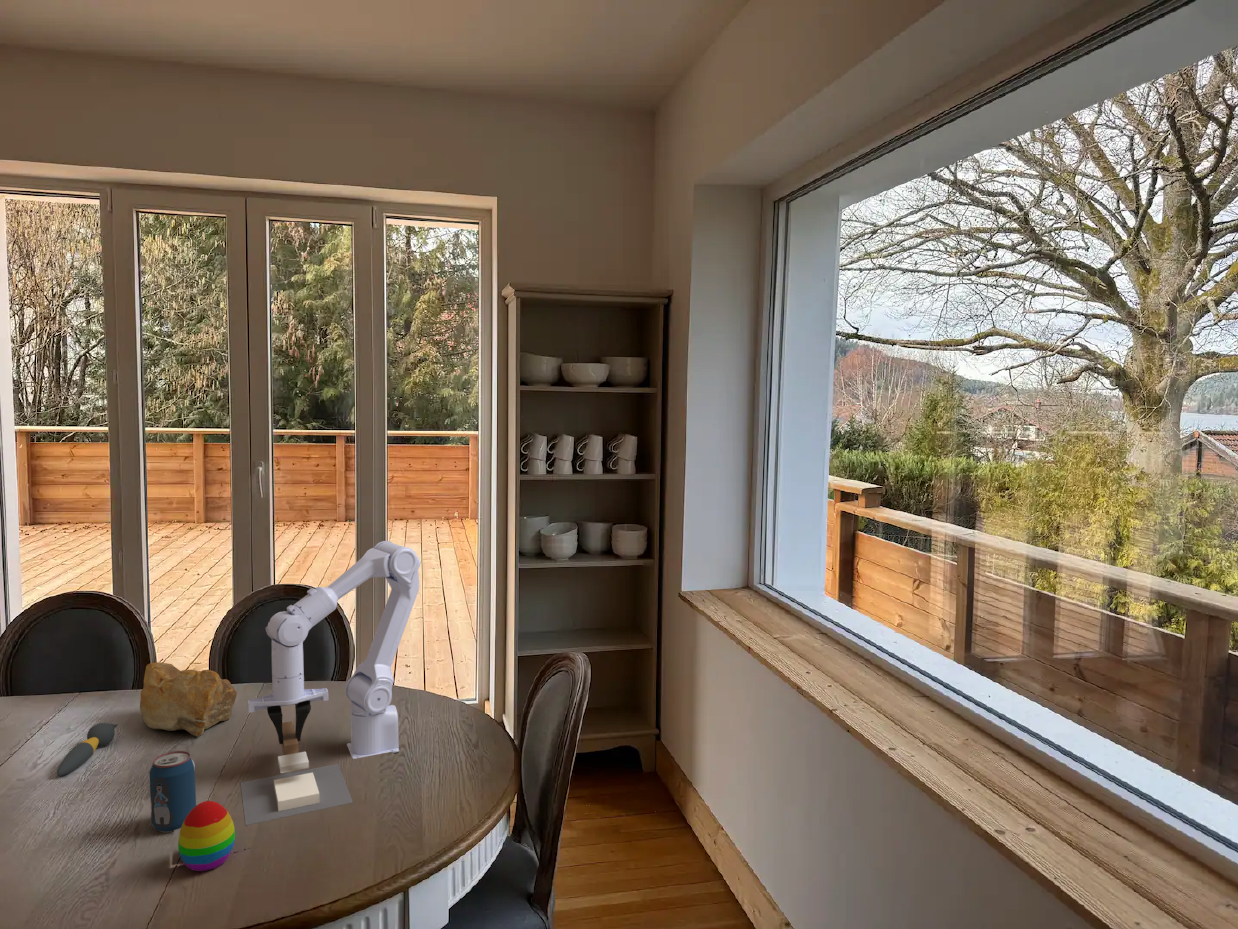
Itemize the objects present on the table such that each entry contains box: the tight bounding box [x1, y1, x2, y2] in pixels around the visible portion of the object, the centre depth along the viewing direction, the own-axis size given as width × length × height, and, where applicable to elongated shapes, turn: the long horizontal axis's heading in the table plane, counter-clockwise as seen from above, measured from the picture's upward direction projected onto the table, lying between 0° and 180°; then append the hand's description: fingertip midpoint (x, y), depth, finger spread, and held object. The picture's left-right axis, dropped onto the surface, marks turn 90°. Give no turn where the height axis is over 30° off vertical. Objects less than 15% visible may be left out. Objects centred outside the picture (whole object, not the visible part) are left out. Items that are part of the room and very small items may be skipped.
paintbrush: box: [56, 722, 119, 777], centre depth 168 cm, size 20×5×5 cm, turn 9°
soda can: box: [148, 750, 197, 834], centre depth 142 cm, size 7×7×12 cm
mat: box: [240, 763, 354, 826], centre depth 154 cm, size 18×17×1 cm
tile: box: [274, 772, 319, 811], centre depth 152 cm, size 7×2×9 cm
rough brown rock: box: [139, 661, 238, 737], centre depth 184 cm, size 23×16×15 cm
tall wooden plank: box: [277, 721, 310, 774], centre depth 161 cm, size 5×17×3 cm, turn 27°
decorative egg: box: [177, 800, 236, 872], centre depth 132 cm, size 8×8×10 cm
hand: (289, 740), depth 161 cm, fingers closed on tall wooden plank, 2 cm apart
